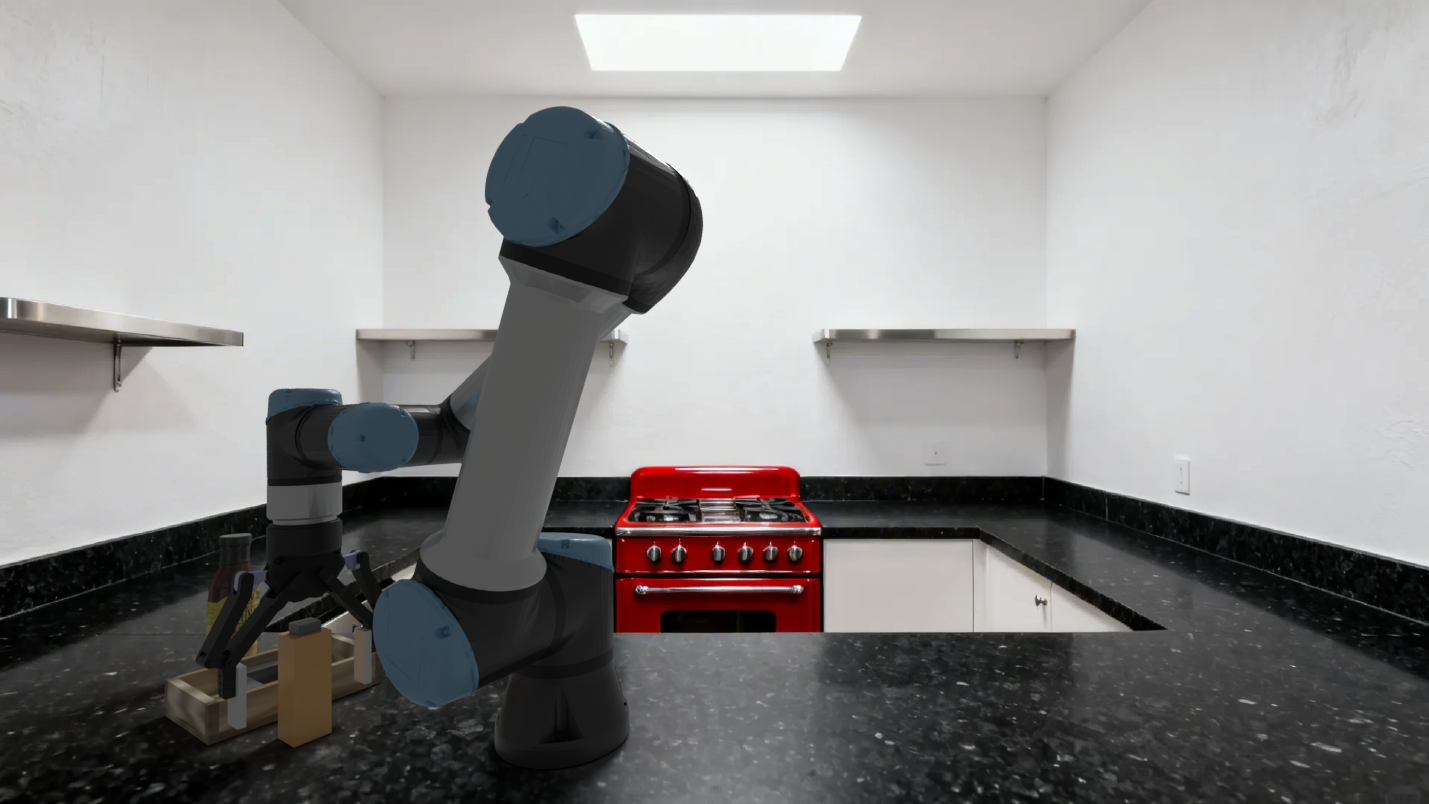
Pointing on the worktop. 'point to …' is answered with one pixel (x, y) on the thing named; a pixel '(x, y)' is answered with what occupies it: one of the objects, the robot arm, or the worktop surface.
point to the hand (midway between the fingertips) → (304, 701)
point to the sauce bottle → (231, 560)
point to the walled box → (251, 692)
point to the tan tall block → (304, 682)
